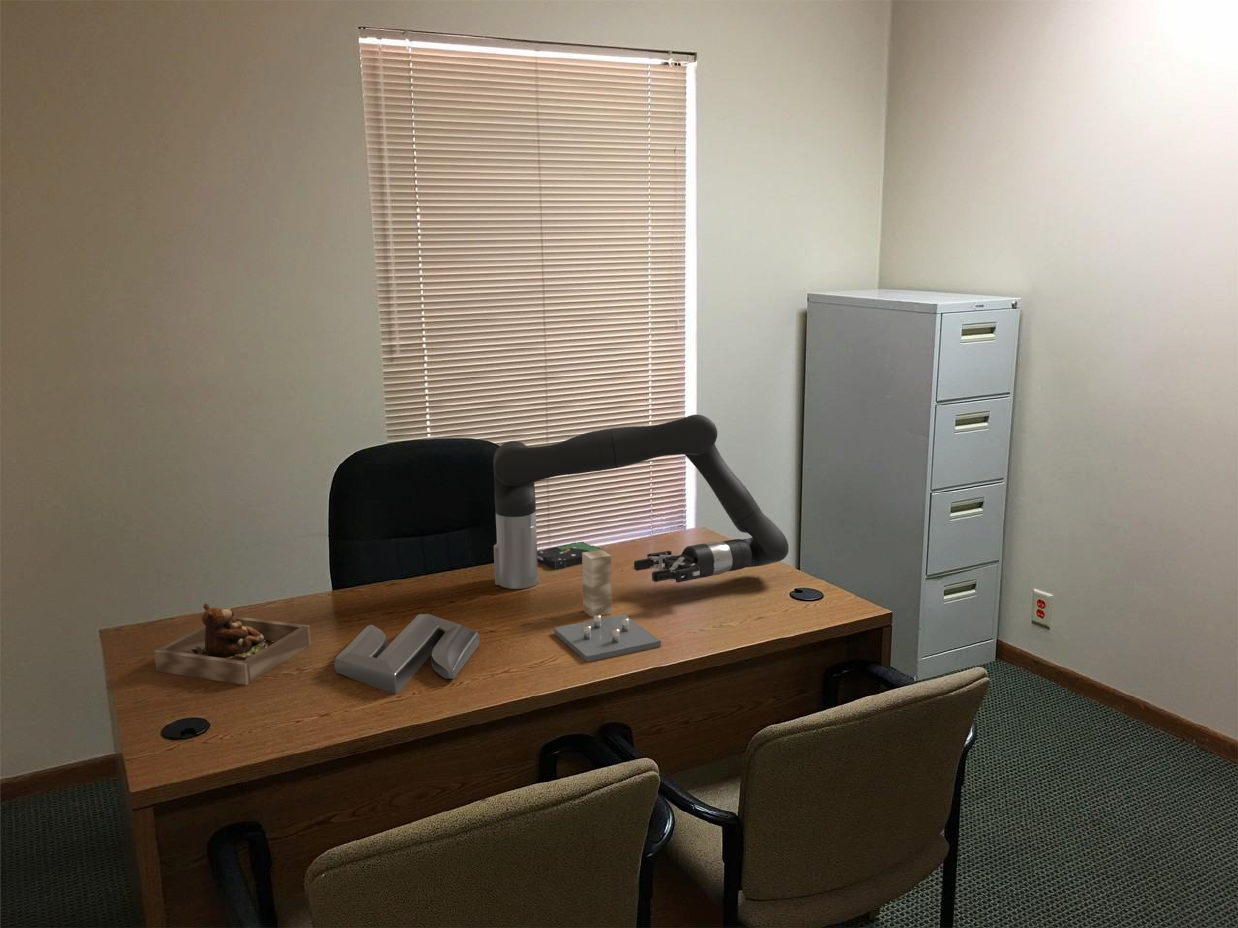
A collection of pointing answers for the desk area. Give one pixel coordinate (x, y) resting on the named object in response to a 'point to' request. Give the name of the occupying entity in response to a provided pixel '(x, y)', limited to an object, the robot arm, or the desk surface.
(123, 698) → the desk surface
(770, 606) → the desk surface
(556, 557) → the disk drive
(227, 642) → the bear figurine
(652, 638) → the slate base plate
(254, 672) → the walnut display rim
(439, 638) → the emblem
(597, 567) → the birch post
